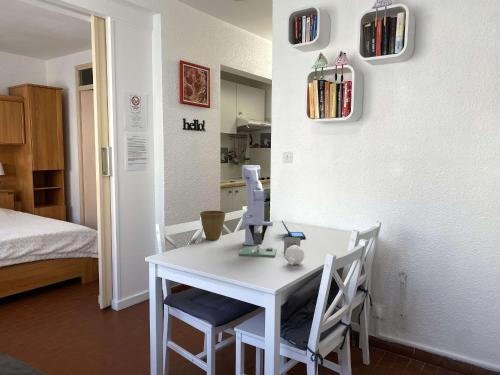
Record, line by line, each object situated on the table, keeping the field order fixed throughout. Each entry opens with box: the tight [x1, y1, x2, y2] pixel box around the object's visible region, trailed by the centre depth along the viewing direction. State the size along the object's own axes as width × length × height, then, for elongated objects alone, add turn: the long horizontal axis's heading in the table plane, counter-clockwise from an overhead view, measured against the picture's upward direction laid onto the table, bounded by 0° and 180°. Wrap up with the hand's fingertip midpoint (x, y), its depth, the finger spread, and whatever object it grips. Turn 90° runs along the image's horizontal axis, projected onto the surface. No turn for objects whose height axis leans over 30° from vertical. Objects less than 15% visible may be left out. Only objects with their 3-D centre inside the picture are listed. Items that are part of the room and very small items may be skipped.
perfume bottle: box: [284, 245, 305, 265], centre depth 176 cm, size 9×9×12 cm
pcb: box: [238, 245, 277, 258], centre depth 196 cm, size 12×18×4 cm, turn 82°
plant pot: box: [199, 210, 226, 241], centre depth 226 cm, size 15×15×16 cm
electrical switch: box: [283, 236, 302, 254], centre depth 196 cm, size 8×5×8 cm, turn 78°
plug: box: [253, 229, 264, 246], centre depth 195 cm, size 6×4×6 cm, turn 172°
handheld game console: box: [281, 220, 307, 240], centre depth 233 cm, size 16×13×9 cm
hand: (258, 239), depth 195 cm, fingers closed on plug, 4 cm apart
